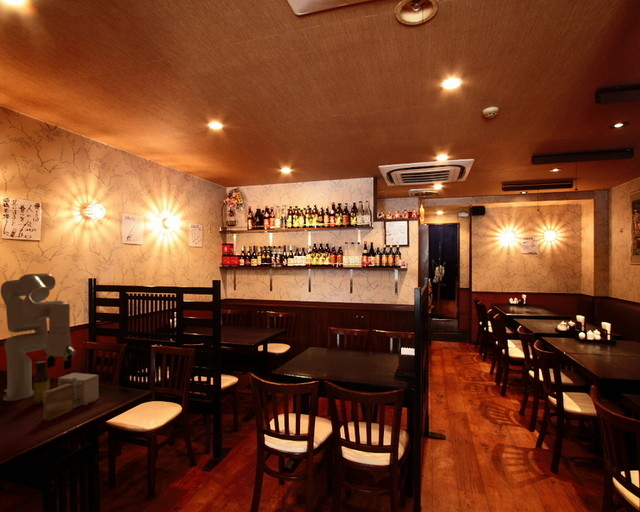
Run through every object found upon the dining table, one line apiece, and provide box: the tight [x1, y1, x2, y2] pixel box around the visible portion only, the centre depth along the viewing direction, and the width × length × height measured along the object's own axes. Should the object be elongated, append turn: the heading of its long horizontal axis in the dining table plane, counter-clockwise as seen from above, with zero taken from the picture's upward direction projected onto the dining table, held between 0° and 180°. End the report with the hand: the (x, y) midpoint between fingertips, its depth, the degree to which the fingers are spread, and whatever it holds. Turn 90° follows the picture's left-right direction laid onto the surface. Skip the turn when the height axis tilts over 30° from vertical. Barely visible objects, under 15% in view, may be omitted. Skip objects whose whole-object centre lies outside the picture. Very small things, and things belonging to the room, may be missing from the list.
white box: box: [57, 372, 100, 409], centre depth 172 cm, size 16×12×14 cm
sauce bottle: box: [32, 360, 51, 405], centre depth 172 cm, size 7×6×20 cm
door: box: [43, 383, 83, 422], centre depth 160 cm, size 4×15×12 cm, turn 165°
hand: (59, 367), depth 159 cm, fingers open, 9 cm apart
